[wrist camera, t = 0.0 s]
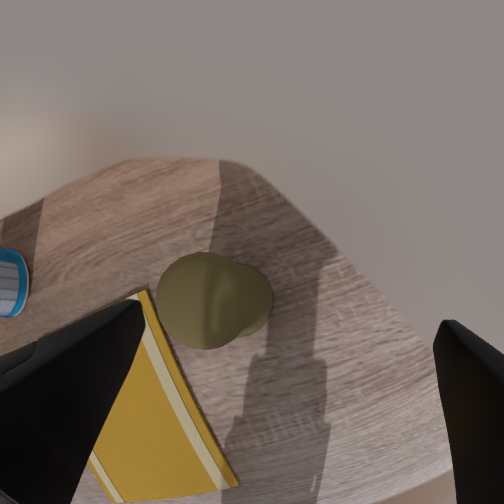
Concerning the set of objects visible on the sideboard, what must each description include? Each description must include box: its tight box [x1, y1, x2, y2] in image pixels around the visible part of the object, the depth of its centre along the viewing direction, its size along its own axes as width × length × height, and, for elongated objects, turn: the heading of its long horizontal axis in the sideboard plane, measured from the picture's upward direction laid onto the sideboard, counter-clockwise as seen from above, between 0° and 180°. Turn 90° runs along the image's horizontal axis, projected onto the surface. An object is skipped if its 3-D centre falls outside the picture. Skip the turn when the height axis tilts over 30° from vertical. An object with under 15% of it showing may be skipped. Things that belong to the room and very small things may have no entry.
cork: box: [156, 252, 273, 350], centre depth 20 cm, size 6×6×11 cm
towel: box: [87, 290, 240, 503], centre depth 25 cm, size 20×16×1 cm
